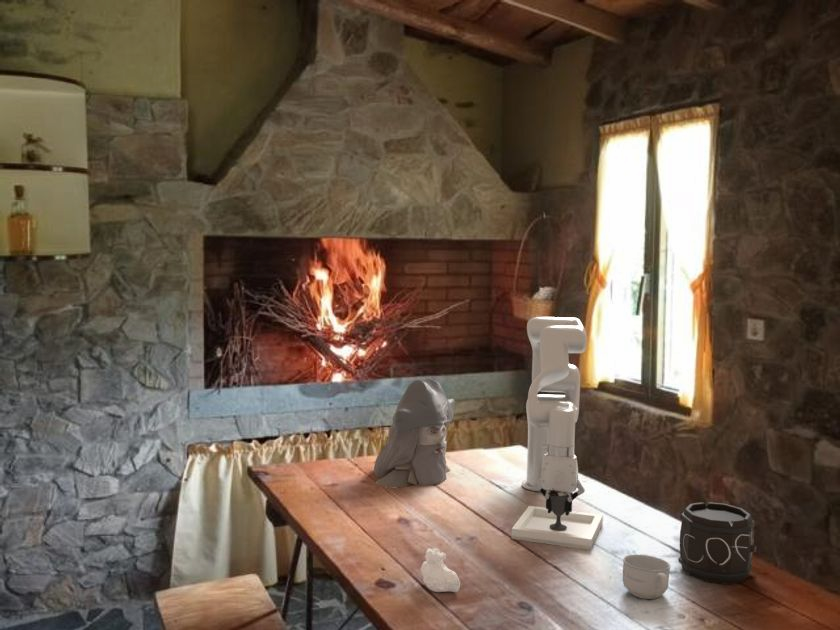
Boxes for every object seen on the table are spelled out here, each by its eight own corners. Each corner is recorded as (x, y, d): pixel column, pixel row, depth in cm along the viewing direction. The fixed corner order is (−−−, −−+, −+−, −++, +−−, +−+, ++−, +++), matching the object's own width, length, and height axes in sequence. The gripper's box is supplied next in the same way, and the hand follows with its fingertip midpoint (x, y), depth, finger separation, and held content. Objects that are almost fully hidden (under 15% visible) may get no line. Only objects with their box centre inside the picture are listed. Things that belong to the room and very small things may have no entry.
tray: (529, 515, 254) (529, 505, 254) (602, 524, 246) (602, 514, 246) (511, 538, 233) (511, 528, 233) (591, 550, 226) (591, 539, 226)
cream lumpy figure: (420, 590, 203) (399, 561, 198) (438, 565, 207) (418, 537, 201) (455, 606, 194) (434, 577, 189) (473, 580, 198) (453, 551, 193)
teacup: (615, 585, 203) (617, 553, 202) (659, 584, 204) (660, 552, 203) (635, 610, 189) (636, 575, 189) (681, 609, 190) (683, 575, 189)
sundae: (569, 523, 243) (570, 473, 242) (570, 531, 236) (572, 479, 235) (546, 522, 244) (547, 472, 242) (547, 530, 237) (548, 478, 236)
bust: (421, 497, 270) (423, 390, 267) (347, 477, 292) (348, 377, 289) (483, 476, 296) (485, 378, 292) (411, 459, 317) (412, 367, 314)
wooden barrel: (746, 592, 200) (750, 528, 198) (671, 576, 209) (673, 514, 208) (760, 568, 215) (763, 509, 214) (689, 553, 224) (692, 496, 223)
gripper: (528, 450, 237) (526, 513, 239) (588, 456, 232) (586, 520, 233) (534, 444, 244) (532, 505, 246) (592, 450, 239) (590, 512, 240)
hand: (558, 512), depth 240 cm, fingers closed on sundae, 4 cm apart
